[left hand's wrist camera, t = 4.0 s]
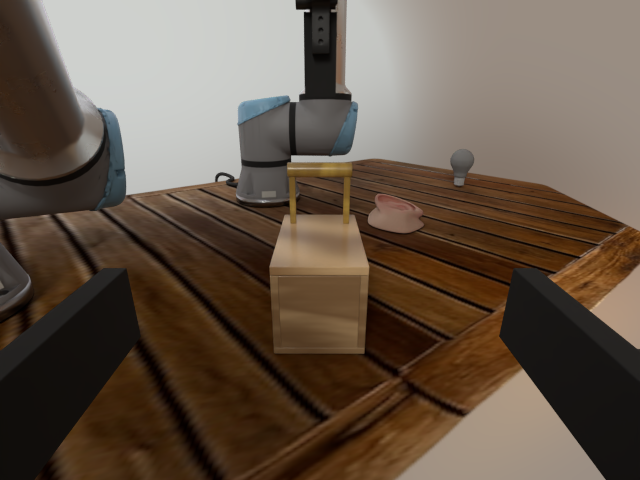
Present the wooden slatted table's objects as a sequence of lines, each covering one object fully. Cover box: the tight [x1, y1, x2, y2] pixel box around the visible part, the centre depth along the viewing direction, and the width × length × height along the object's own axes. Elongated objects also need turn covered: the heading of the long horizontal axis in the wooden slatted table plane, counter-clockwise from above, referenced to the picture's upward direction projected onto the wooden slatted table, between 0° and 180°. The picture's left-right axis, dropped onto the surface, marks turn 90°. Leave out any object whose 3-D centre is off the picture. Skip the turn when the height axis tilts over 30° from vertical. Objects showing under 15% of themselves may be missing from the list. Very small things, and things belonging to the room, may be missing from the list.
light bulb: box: [450, 149, 474, 186], centre depth 101 cm, size 6×6×10 cm
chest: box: [270, 275, 369, 354], centre depth 42 cm, size 15×9×9 cm, turn 0°
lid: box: [269, 162, 369, 276], centre depth 39 cm, size 15×9×8 cm, turn 0°
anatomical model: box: [368, 194, 424, 233], centre depth 73 cm, size 13×4×12 cm
